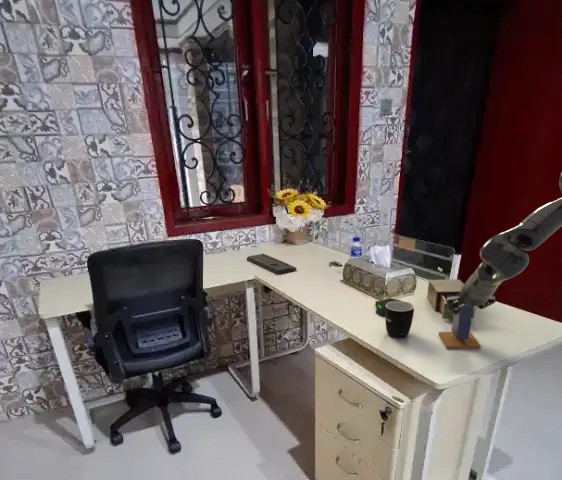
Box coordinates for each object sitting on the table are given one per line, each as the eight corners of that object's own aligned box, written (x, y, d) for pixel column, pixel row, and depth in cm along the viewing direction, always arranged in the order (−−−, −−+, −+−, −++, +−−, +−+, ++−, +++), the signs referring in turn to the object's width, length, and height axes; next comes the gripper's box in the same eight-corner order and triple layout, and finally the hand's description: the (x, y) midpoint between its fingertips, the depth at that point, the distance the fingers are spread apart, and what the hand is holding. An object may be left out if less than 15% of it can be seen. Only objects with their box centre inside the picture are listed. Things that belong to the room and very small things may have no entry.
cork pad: (470, 334, 135) (470, 331, 135) (480, 348, 126) (480, 345, 126) (438, 334, 137) (438, 331, 136) (446, 348, 128) (446, 345, 127)
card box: (463, 331, 133) (468, 298, 128) (468, 338, 128) (473, 305, 123) (451, 331, 133) (456, 299, 128) (456, 338, 128) (461, 305, 123)
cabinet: (467, 310, 153) (470, 291, 149) (434, 311, 154) (437, 291, 151) (457, 297, 165) (459, 279, 162) (426, 298, 166) (428, 279, 163)
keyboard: (296, 270, 209) (296, 266, 208) (277, 274, 204) (277, 270, 203) (264, 256, 237) (263, 252, 236) (246, 259, 232) (246, 256, 231)
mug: (381, 328, 143) (383, 301, 138) (407, 327, 142) (410, 300, 138) (389, 344, 132) (391, 315, 127) (417, 343, 132) (420, 314, 127)
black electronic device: (380, 320, 149) (381, 309, 147) (369, 303, 164) (370, 294, 162) (412, 318, 149) (413, 307, 148) (398, 301, 164) (398, 292, 162)
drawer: (477, 323, 141) (480, 307, 138) (445, 323, 142) (447, 307, 139) (463, 305, 155) (465, 290, 153) (434, 305, 157) (436, 290, 154)
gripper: (505, 274, 113) (483, 300, 129) (451, 275, 115) (436, 300, 131) (509, 299, 111) (486, 322, 127) (454, 300, 113) (438, 322, 129)
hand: (461, 311), depth 129 cm, fingers closed on card box, 3 cm apart
